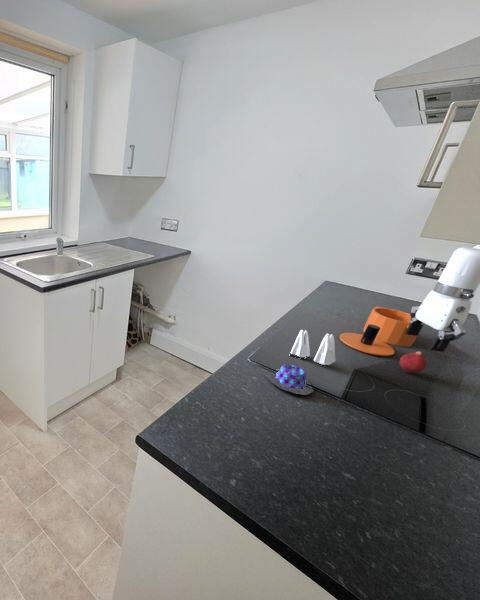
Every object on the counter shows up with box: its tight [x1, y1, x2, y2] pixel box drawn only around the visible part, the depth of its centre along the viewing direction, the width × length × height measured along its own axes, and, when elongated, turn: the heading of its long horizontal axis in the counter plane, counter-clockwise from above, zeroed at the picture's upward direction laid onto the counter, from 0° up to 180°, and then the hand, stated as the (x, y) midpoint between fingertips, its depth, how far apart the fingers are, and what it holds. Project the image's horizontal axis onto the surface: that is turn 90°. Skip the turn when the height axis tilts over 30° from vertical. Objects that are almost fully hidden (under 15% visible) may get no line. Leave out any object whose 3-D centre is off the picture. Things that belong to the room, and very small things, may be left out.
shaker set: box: [290, 329, 337, 366], centre depth 102 cm, size 12×4×11 cm, turn 49°
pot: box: [362, 306, 425, 348], centre depth 121 cm, size 15×20×10 cm
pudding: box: [275, 363, 307, 389], centre depth 91 cm, size 12×12×5 cm
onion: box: [398, 351, 427, 374], centre depth 99 cm, size 6×6×8 cm
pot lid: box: [339, 324, 395, 357], centre depth 114 cm, size 16×16×8 cm
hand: (423, 342), depth 96 cm, fingers open, 9 cm apart
